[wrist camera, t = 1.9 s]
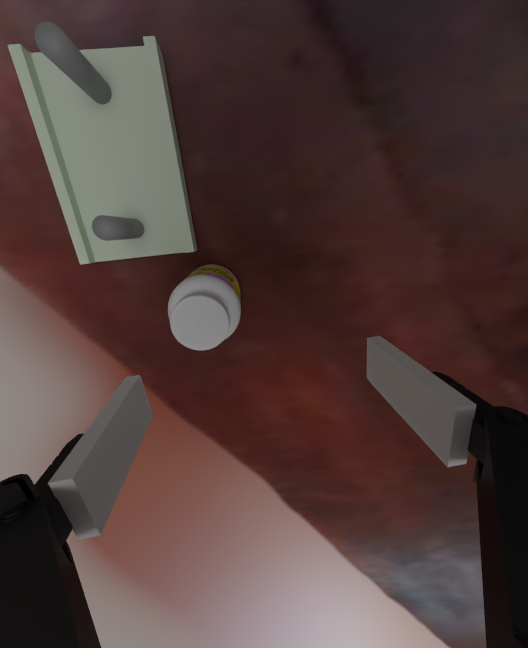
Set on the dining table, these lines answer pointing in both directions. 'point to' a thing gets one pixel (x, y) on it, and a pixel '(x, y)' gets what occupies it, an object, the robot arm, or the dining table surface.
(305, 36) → the dining table surface
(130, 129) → the tray
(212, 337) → the supplement bottle
